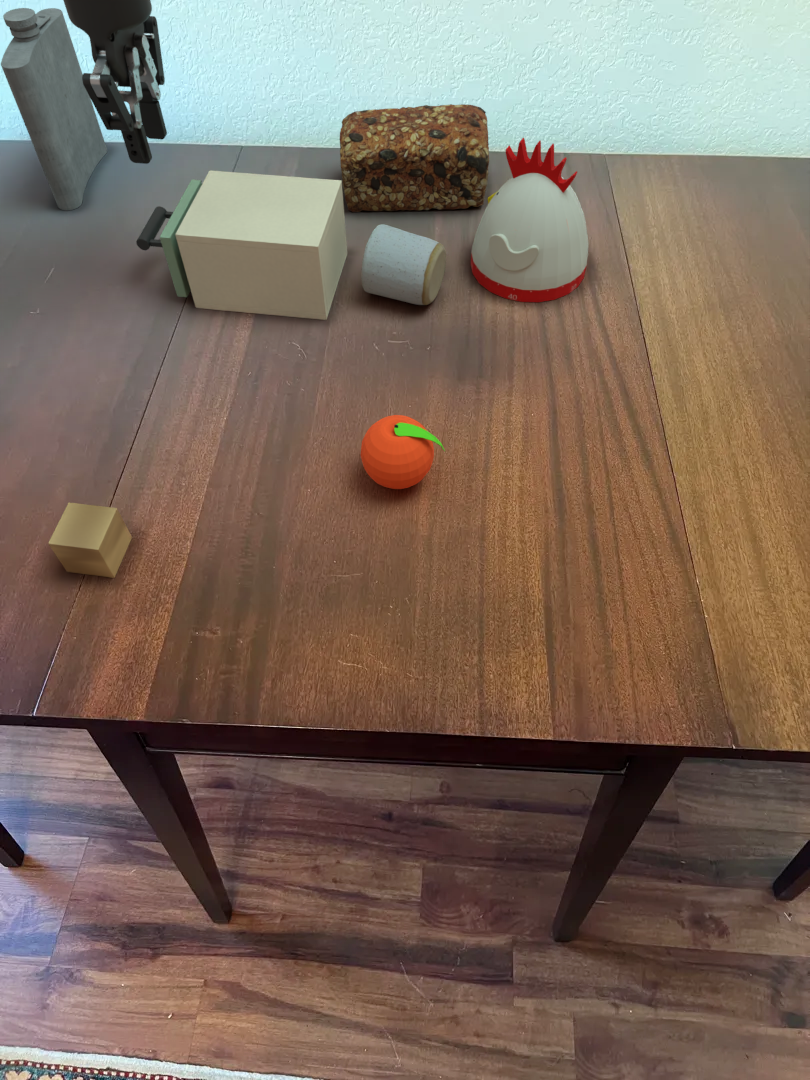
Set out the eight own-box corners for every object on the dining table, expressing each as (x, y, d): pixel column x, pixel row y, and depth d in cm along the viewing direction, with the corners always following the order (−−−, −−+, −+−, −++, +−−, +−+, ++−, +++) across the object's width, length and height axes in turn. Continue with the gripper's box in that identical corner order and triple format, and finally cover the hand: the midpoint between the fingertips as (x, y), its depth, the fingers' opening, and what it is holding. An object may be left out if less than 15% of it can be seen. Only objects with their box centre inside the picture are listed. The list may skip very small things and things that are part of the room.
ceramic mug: (427, 320, 89) (429, 262, 83) (361, 305, 91) (357, 246, 85) (456, 268, 95) (459, 209, 89) (393, 254, 97) (392, 195, 90)
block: (67, 572, 70) (47, 543, 66) (86, 531, 73) (68, 502, 69) (114, 578, 70) (98, 549, 66) (132, 537, 72) (117, 507, 68)
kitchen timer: (499, 220, 100) (511, 100, 88) (601, 250, 96) (628, 128, 84) (451, 281, 93) (457, 159, 81) (559, 315, 89) (583, 193, 77)
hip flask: (78, 210, 102) (14, 44, 86) (48, 210, 103) (-22, 43, 86) (109, 146, 111) (57, -16, 95) (81, 146, 112) (25, -16, 95)
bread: (481, 169, 107) (487, 93, 99) (486, 214, 101) (492, 137, 93) (345, 170, 107) (340, 95, 99) (342, 215, 101) (336, 139, 93)
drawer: (141, 293, 91) (120, 233, 85) (172, 235, 98) (155, 176, 91) (298, 307, 89) (289, 248, 83) (319, 248, 96) (313, 188, 89)
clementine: (448, 455, 78) (451, 403, 72) (438, 509, 74) (440, 460, 68) (370, 445, 78) (366, 393, 73) (355, 499, 74) (350, 449, 69)
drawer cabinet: (195, 308, 91) (174, 234, 83) (225, 243, 98) (209, 170, 90) (326, 320, 89) (318, 246, 82) (347, 254, 97) (341, 180, 89)
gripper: (85, -75, 73) (138, 113, 87) (20, -12, 65) (90, 184, 79) (162, -71, 72) (203, 117, 86) (106, -7, 64) (161, 189, 78)
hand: (149, 148), depth 82 cm, fingers open, 4 cm apart
